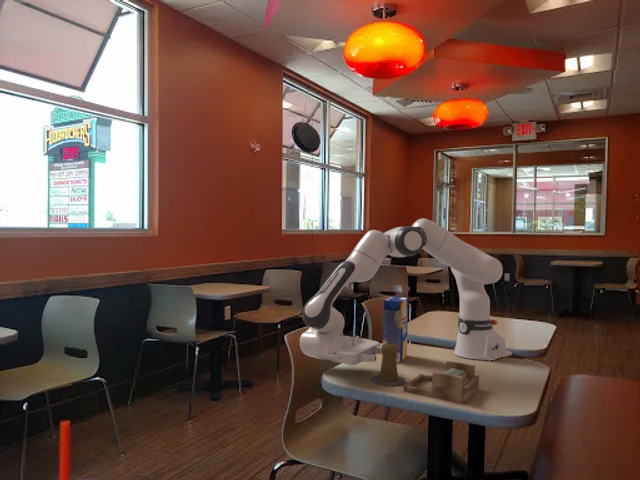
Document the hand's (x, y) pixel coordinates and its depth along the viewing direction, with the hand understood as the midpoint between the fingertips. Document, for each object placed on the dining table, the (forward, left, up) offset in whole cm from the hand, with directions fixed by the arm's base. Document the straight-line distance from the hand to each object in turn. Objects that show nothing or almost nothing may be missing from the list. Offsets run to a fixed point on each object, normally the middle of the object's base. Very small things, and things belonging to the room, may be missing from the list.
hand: (381, 355), depth 154 cm
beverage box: (-20, -19, -8) cm, 29 cm away
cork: (-2, +1, -7) cm, 8 cm away
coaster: (-1, +2, -8) cm, 8 cm away
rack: (-10, +16, -8) cm, 21 cm away
